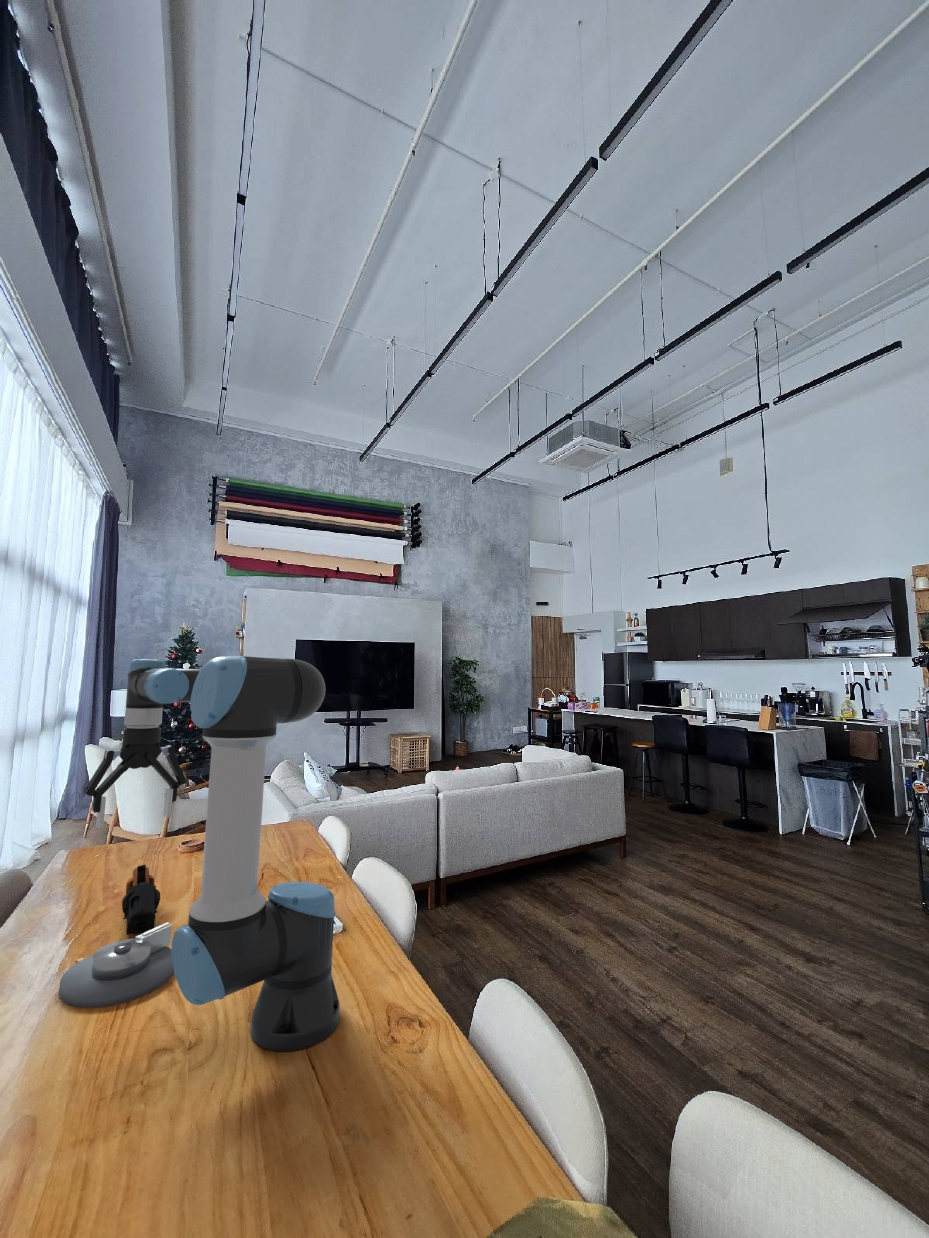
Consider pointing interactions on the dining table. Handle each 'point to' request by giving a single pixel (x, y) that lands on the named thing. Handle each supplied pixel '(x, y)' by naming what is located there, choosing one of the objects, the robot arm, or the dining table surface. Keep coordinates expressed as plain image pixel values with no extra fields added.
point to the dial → (129, 954)
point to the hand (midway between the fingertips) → (134, 821)
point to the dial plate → (113, 982)
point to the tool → (140, 901)
